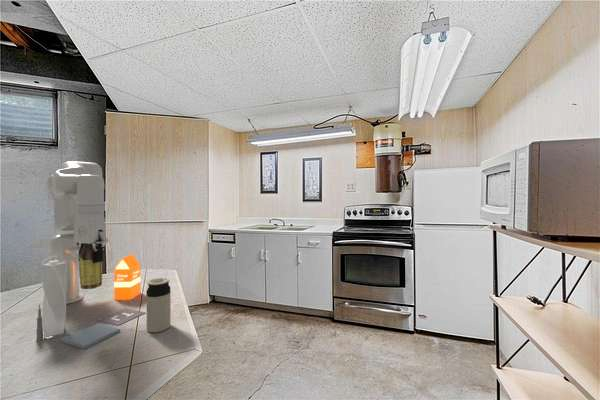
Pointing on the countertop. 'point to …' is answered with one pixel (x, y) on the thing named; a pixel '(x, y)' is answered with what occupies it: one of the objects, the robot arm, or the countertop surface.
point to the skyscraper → (52, 300)
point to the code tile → (121, 316)
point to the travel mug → (158, 305)
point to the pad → (90, 336)
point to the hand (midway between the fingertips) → (90, 260)
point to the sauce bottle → (89, 268)
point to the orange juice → (127, 279)
